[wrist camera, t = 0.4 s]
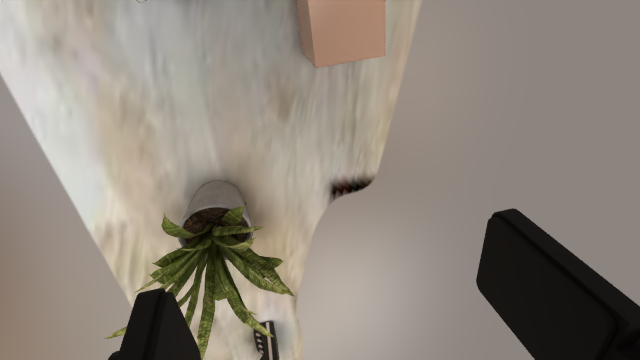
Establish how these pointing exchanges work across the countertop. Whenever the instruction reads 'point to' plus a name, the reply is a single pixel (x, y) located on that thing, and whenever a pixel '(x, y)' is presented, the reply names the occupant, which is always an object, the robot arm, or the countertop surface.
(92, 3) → the countertop surface
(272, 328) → the battery charger
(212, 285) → the house plant
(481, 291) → the robot arm
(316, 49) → the cube
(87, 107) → the countertop surface
